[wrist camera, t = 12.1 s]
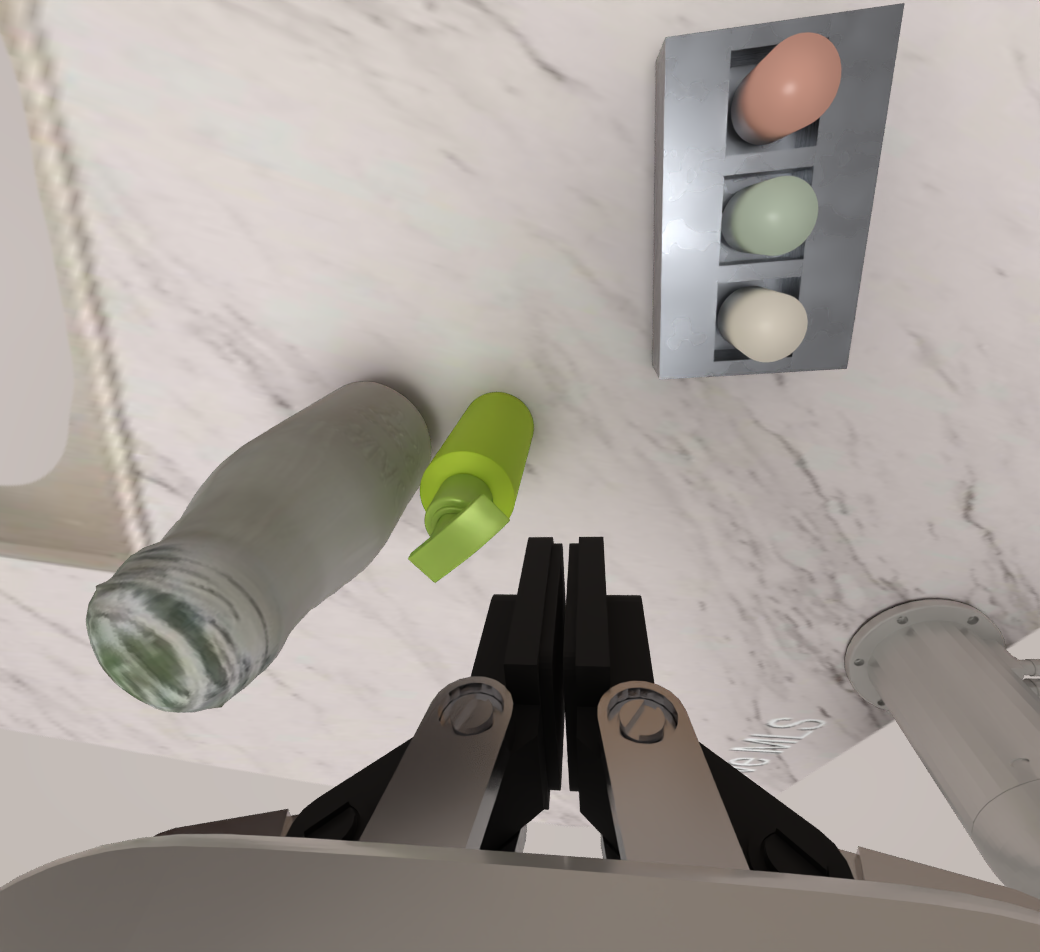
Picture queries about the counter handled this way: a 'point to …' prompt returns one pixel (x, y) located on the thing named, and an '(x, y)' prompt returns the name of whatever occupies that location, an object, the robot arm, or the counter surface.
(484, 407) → the soap dispenser
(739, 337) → the cream rounded cylinder
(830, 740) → the counter surface
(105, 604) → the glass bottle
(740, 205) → the green piece
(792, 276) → the gray socket block
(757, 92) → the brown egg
